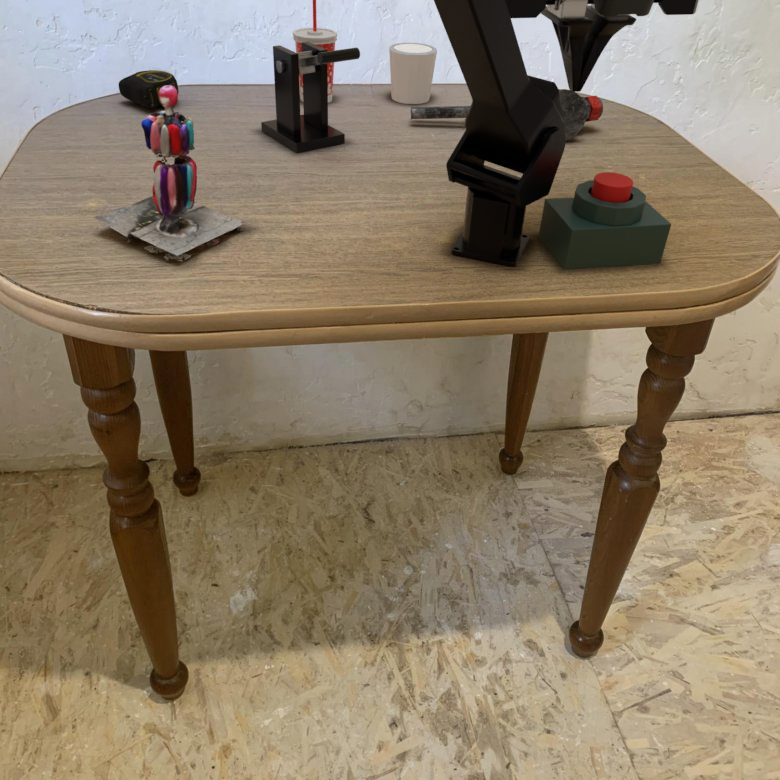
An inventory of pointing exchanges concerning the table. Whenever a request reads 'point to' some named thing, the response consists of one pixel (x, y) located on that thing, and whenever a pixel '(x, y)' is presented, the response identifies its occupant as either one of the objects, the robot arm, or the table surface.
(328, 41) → the beverage cup
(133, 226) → the statue
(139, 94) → the tape measure
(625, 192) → the button
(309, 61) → the lever
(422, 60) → the white tapered cup
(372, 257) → the table surface
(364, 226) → the table surface
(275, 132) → the bracket
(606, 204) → the button box
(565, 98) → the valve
